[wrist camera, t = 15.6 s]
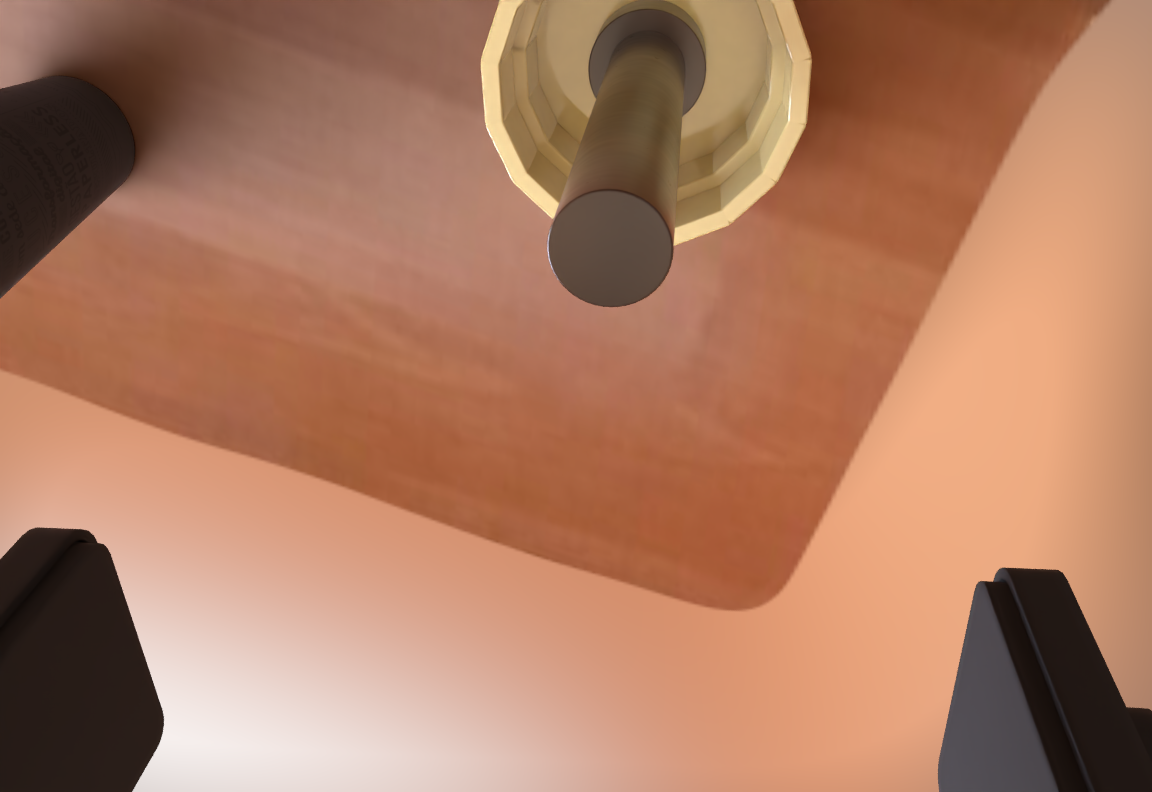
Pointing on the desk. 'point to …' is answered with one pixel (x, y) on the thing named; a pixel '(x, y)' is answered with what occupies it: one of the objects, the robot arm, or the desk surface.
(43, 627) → the robot arm
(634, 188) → the stirrer
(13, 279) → the drinking cup
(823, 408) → the desk surface
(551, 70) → the bowl
